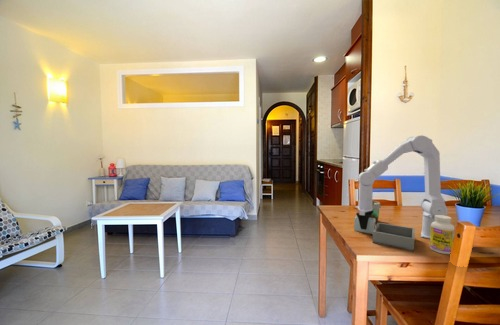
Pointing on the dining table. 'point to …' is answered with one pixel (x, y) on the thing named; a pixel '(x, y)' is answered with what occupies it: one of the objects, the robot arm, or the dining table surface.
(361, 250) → the dining table surface
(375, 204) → the food container
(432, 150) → the robot arm
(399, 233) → the big crate
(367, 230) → the small crate
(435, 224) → the supplement bottle
